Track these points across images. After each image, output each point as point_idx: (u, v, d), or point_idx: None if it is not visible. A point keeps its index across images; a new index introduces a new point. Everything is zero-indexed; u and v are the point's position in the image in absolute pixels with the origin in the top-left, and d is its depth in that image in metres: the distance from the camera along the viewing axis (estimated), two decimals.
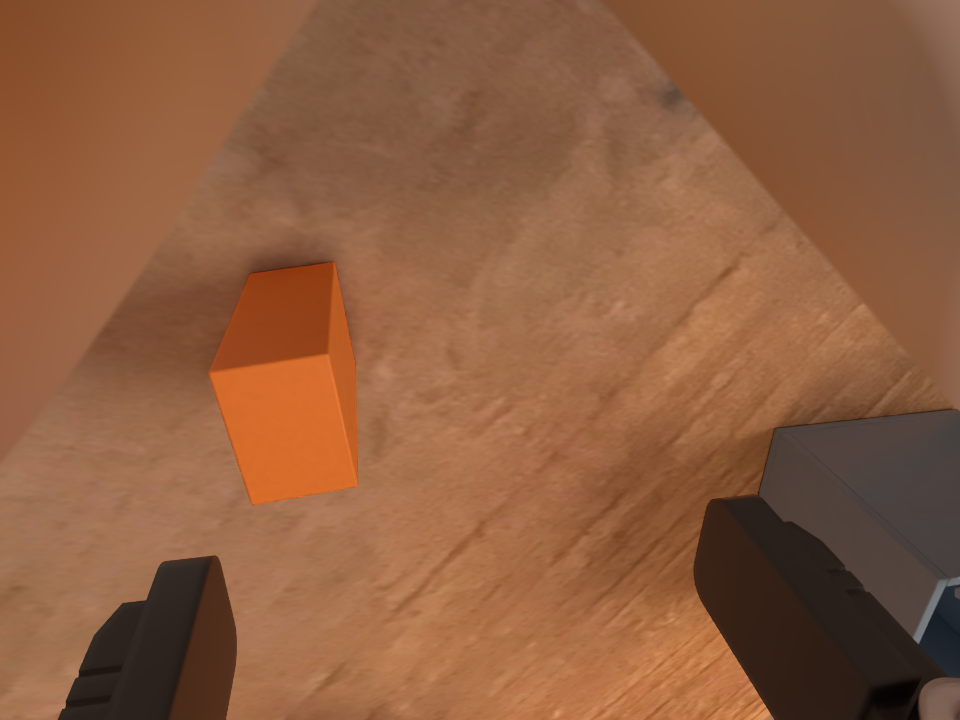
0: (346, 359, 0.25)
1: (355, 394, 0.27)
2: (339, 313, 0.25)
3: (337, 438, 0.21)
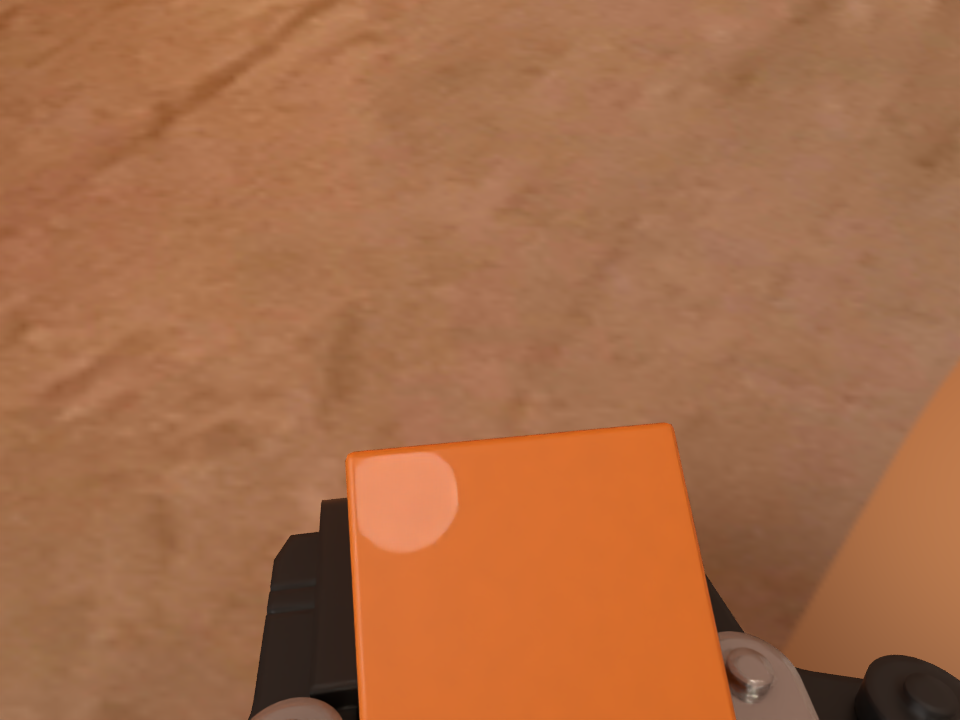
0: None
1: None
2: None
3: (391, 674, 0.06)
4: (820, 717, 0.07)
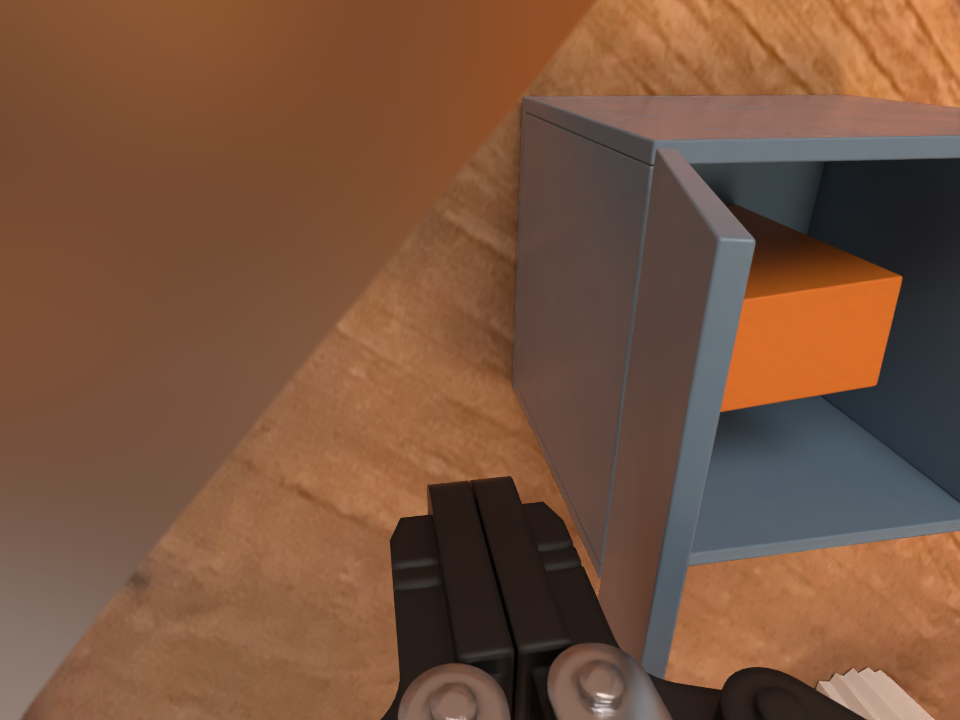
0: None
1: (773, 224, 0.23)
2: None
3: (833, 296, 0.18)
4: None
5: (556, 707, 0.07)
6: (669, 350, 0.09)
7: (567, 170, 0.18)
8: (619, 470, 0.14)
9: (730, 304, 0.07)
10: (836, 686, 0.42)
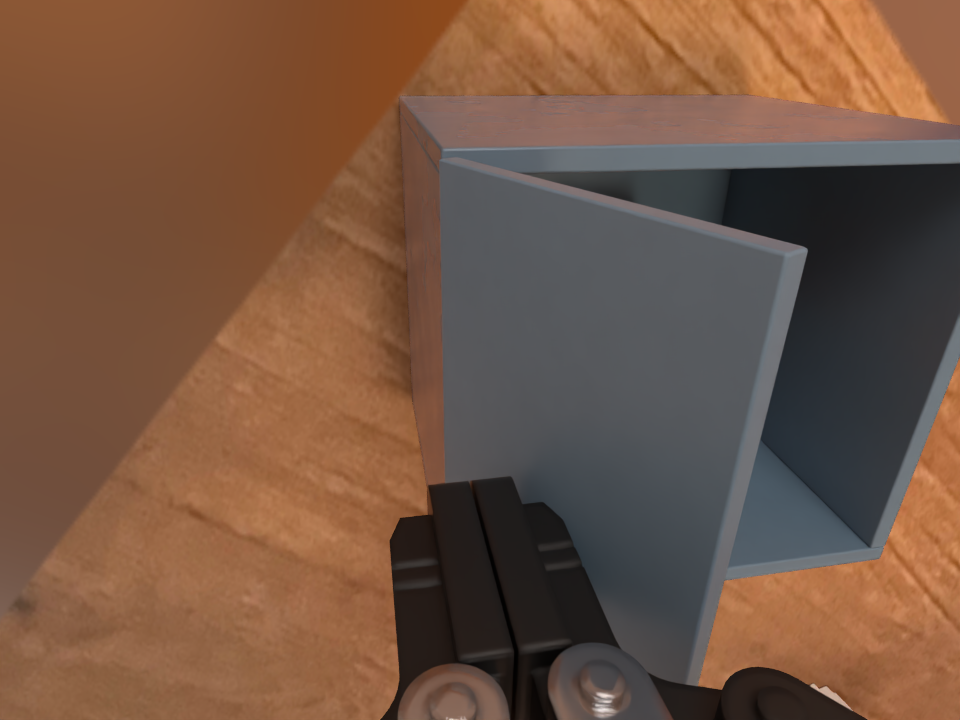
0: None
1: None
2: None
3: None
4: None
5: (557, 707, 0.07)
6: (629, 377, 0.08)
7: (416, 177, 0.17)
8: None
9: (785, 317, 0.07)
10: None
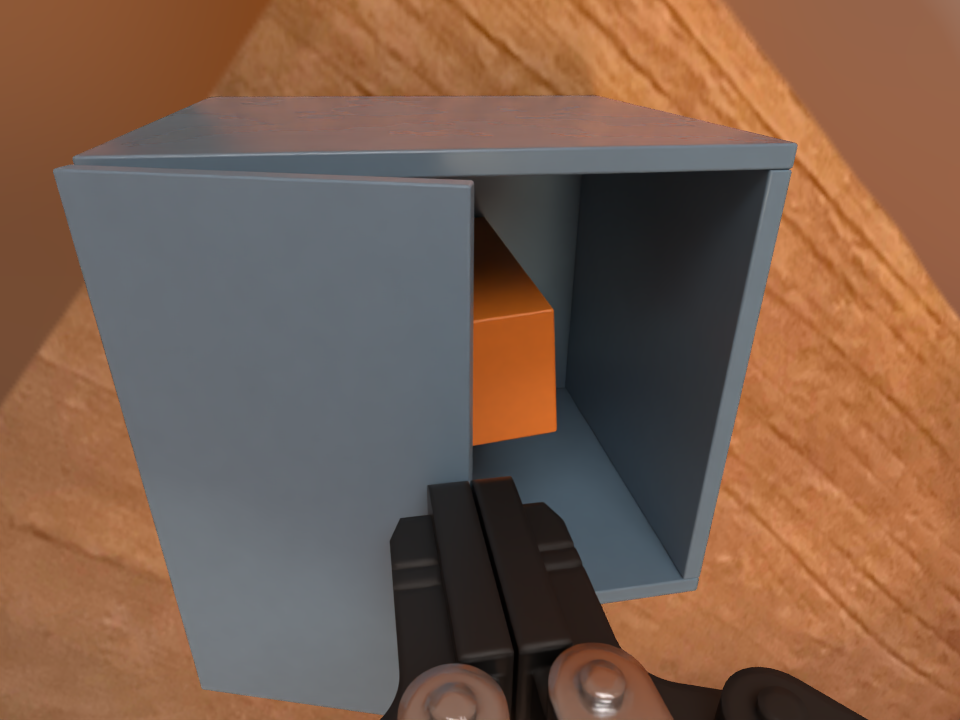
0: None
1: (493, 241, 0.20)
2: None
3: None
4: None
5: (557, 707, 0.07)
6: (362, 319, 0.10)
7: None
8: (199, 532, 0.12)
9: (473, 232, 0.09)
10: None
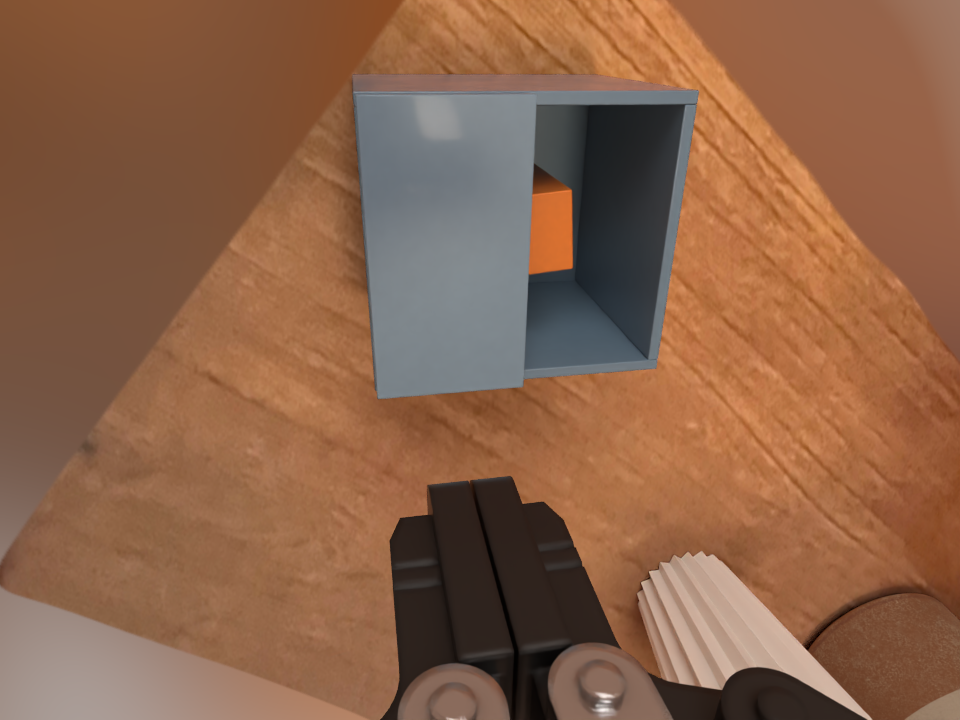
0: None
1: None
2: None
3: None
4: None
5: (556, 707, 0.07)
6: (489, 157, 0.23)
7: None
8: (394, 287, 0.25)
9: (534, 115, 0.23)
10: (673, 565, 0.52)
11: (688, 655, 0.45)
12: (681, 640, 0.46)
